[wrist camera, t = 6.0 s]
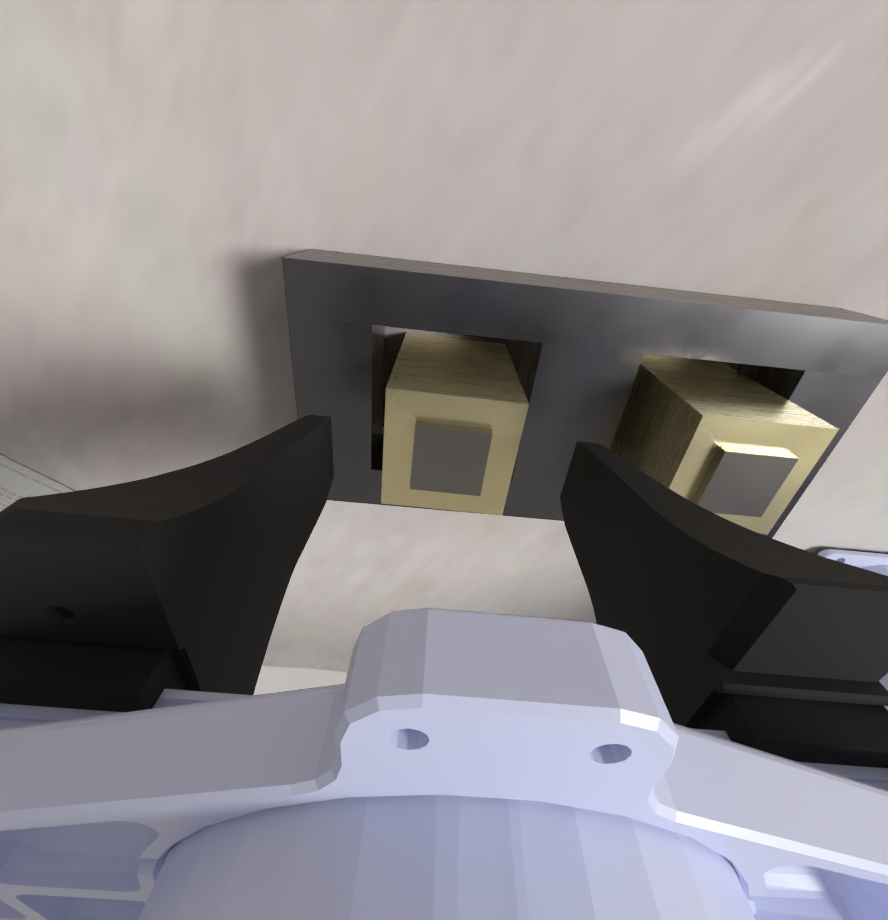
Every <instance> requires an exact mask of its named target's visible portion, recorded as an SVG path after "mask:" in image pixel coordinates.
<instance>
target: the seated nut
mask: <svg viewBox="0 0 888 920" xmlns="http://www.w3.org/2000/svg"><path fill="white" fill-rule="evenodd" d="M838 430H839V429H838V428H836V427H834V426H833V425H831V424H829V423H827V422H826V421H824V420H822V419H820V418H819V417H817V416H815V415H813V414H812V413H810V412H808V411H806V410H804V409H803V408H801V407H799V406H797V405H796V404H794V403H792V402H790V401H789V400H787V399H785V398H783V397H782V396H780V395H778V394H776V393H775V392H773V391H771V390H769V389H768V388H766V387H764V386H762V385H760V384H759V383H757V382H755V381H753V380H752V379H750V378H748V377H746V376H745V375H743V374H741V373H739V372H738V371H736V370H734V369H732V368H731V367H729V366H727V365H725V364H724V363H722V362H714V361H704V360H695V359H685V358H676V357H666V356H657V355H647V354H644V355H643V357H642V360H641V363H640V366H639V369H638V371H637V374H636V377H635V380H634V382H633V385H632V388H631V391H630V394H629V396H628V399H627V402H626V405H625V407H624V410H623V413H622V416H621V419H620V421H619V424H618V427H617V430H616V432H615V435H614V438H613V441H612V444H611V446H610V449H609V450H611V451H612V452H614V453H616V454H617V455H619V456H620V457H622V458H623V459H625V460H626V461H628V462H629V463H631V464H632V465H633V466H635V467H636V468H638V469H639V470H641V471H642V472H644V473H645V474H647V475H648V476H650V477H651V478H653V479H655V480H656V481H658V482H659V483H661V484H662V485H664V486H666V487H667V488H669V489H671V490H672V491H674V492H676V493H677V494H679V495H681V496H682V497H684V498H686V499H688V500H689V501H691V502H693V503H695V504H697V505H699V506H701V507H703V508H705V509H706V510H708V511H710V512H712V513H714V514H716V515H718V516H720V517H722V518H725V519H727V520H729V521H731V522H733V523H735V524H738V525H740V526H743V527H745V528H747V529H750V530H752V531H754V532H757V533H759V534H766V535H768V533H769V532H770V530H771V529H772V528H773V526H774V525H775V523H776V522H777V520H778V519H779V517H780V516H781V514H782V513H783V511H784V510H785V508H786V507H787V505H788V504H789V502H790V501H791V500H792V498H793V497H794V495H795V494H796V492H797V491H798V489H799V488H800V486H801V485H802V483H803V482H804V480H805V479H806V477H807V476H808V474H809V473H810V472H811V470H812V469H813V467H814V466H815V464H816V463H817V461H818V460H819V458H820V457H821V455H822V454H823V452H824V451H825V449H826V448H827V446H828V445H829V444H830V442H831V441H832V439H833V438H834V436H835V435H836V433H837V432H838Z"/></svg>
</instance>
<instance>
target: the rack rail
mask: <svg viewBox="0 0 888 920" xmlns="http://www.w3.org/2000/svg"><path fill="white" fill-rule="evenodd" d="M282 260H283V271H284V281H285V292H286V302H287V312H288V323H289V333H290V344H291V354H292V365H293V375H294V385H295V396H296V406H297V417H298V419H300V418H303V417H305V416H308V415H318V416H328V417H331V425H332V446H333V467H334V477H333V481H332V484H331V488H330V491H329V494H328V497H327V500H334V501H345V502H357V503H368V504H379V505H391V506H402V507H413V506H403V505H393V504H383V503H381V491H382V467H383V444H384V434H382V411H383V369H384V327H385V326H388V327H398V328H407V329H417V330H426V331H436V332H445V333H455V334H464V335H474V336H483V337H493V338H502V339H512V340H521V341H524V345H523V350H522V355H521V360H520V365H519V370H518V378H519V380H520V383H521V385H522V388H523V390H524V393H525V395H526V398H527V400H528V403H529V407H528V411H527V415H526V419H525V423H524V427H523V431H522V436H521V440H520V444H519V448H518V452H517V456H516V460H515V465H514V469H513V473H512V477H511V481H510V485H509V490H508V494H507V498H506V502H505V506H504V510H503V514H502V515H504V516H515V517H527V518H538V519H549V520H561V521H564V518H563V513H562V507H561V501H560V495H561V492H562V489H563V485H564V482H565V479H566V475H567V472H568V469H569V466H570V462H571V459H572V456H573V453H574V449H575V446H576V443H577V441H581V442H591V443H598V444H600V445H602V446H604V447H606V448H608V449H610V446H611V444H612V441H613V438H614V435H615V432H616V430H617V427H618V424H619V421H620V419H621V416H622V413H623V410H624V407H625V405H626V402H627V399H628V396H629V394H630V391H631V388H632V385H633V382H634V380H635V377H636V374H637V371H638V369H639V366H640V363H641V360H642V357H643V355H644V354H654V355H663V356H673V357H682V358H692V359H701V360H711V361H720V362H730V363H739V364H741V366H740V368H739V370H738V372H739V373H741V374H743V375H745V376H746V377H748V378H750V379H752V380H753V381H755V382H757V383H759V384H760V385H762V386H764V387H766V388H768V389H769V390H771V391H773V392H775V393H776V394H778V395H780V396H782V397H783V398H785V399H787V400H789V401H790V402H792V403H794V404H796V405H797V406H799V407H801V408H803V409H804V410H806V411H808V412H810V413H812V414H813V415H815V416H817V417H819V418H820V419H822V420H824V421H826V422H827V423H829V424H831V425H833V426H834V427H836V428H838V429H839V430H838V432H837V433H836V435H835V436H834V438H833V439H832V441H831V442H830V444H829V445H828V446H827V448H826V449H825V451H824V452H823V454H822V455H821V457H820V458H819V460H818V461H817V463H816V464H815V466H814V467H813V469H812V470H811V472H810V473H809V474H808V476H807V477H806V479H805V480H804V482H803V483H802V485H801V486H800V488H799V489H798V491H797V492H796V494H795V495H794V497H793V498H792V500H791V501H790V502H789V504H788V505H787V507H786V508H785V510H784V511H783V513H782V514H781V516H780V517H779V519H778V520H777V522H776V523H775V525H774V526H773V528H772V529H771V530H770V532H769V533H768V535H766V534H761V535H764V536H766V537H769V538H773V536H774V535H775V533H776V532H777V530H778V529H779V527H780V526H781V525H782V523H783V522H784V520H785V519H786V517H787V516H788V514H789V513H790V512H791V510H792V509H793V507H794V506H795V504H796V503H797V501H798V500H799V498H800V497H801V496H802V494H803V493H804V491H805V490H806V488H807V487H808V485H809V484H810V483H811V481H812V480H813V478H814V477H815V475H816V474H817V472H818V471H819V470H820V468H821V467H822V465H823V464H824V462H825V461H826V459H827V458H828V456H829V455H830V454H831V452H832V451H833V449H834V448H835V446H836V445H837V443H838V442H839V441H840V439H841V438H842V436H843V435H844V433H845V432H846V430H847V429H848V427H849V426H850V425H851V423H852V422H853V420H854V419H855V417H856V416H857V414H858V413H859V412H860V410H861V409H862V407H863V406H864V404H865V403H866V401H867V400H868V398H869V397H870V396H871V394H872V393H873V391H874V390H875V388H876V387H877V385H878V384H879V383H880V381H881V380H882V378H883V377H884V375H885V374H886V372H887V371H888V320H885V319H881V318H877V317H873V316H869V315H865V314H861V313H857V312H854V311H850V310H846V309H842V308H834V307H825V306H816V305H807V304H798V303H789V302H780V301H771V300H763V299H754V298H745V297H736V296H727V295H718V294H709V293H700V292H691V291H682V290H673V289H664V288H655V287H647V286H638V285H629V284H620V283H611V282H602V281H593V280H584V279H575V278H566V277H557V276H548V275H539V274H530V273H522V272H513V271H504V270H495V269H486V268H477V267H468V266H459V265H450V264H441V263H432V262H423V261H414V260H406V259H397V258H388V257H379V256H370V255H361V254H352V253H343V252H334V251H325V250H316V249H309V250H306V251H302V252H299V253H295V254H292V255H289V256H285V257H282ZM413 508H423V507H413ZM425 509H433V508H425ZM436 510H443V509H436ZM447 511H453V510H447ZM459 512H463V511H459ZM470 513H473V512H470ZM481 514H483V513H481Z"/></svg>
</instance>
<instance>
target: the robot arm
mask: <svg viewBox="0 0 888 920" xmlns="http://www.w3.org/2000/svg"><path fill="white" fill-rule="evenodd" d="M333 477H334V467H333V446H332V425H331V417H328V416H318V415H308V416H305V417H303V418H300V419H298V420H296V421H294V422H292V423H290V424H288V425H286V426H285V427H283V428H281V429H279V430H277V431H275V432H273V433H271V434H269V435H267V436H265V437H263V438H261V439H259V440H257V441H254V442H252V443H250V444H248V445H246V446H243V447H241V448H239V449H237V450H234V451H232V452H230V453H227V454H225V455H222V456H220V457H217V458H214V459H211V460H209V461H206V462H203V463H200V464H197V465H194V466H191V467H187V468H184V469H180V470H176V471H172V472H169V473H165V474H161V475H158V476H154V477H150V478H146V479H141V480H137V481H132V482H127V483H122V484H117V485H111V486H106V487H100V488H94V489H88V490H81V491H73V492H65V493H58V494H50V495H42V496H34V497H24V498H20V499H18V500H17V501H15V502H14V503H12V504H11V505H9V506H8V507H7V508H5V509H4V510H2V511H1V512H0V920H888V554H880V553H869V552H857V551H846V550H834V549H826V550H823V551H821V552H819V553H818V554H817V555H816V554H813V553H810V552H807V551H805V550H802V549H799V548H796V547H793V546H790V545H787V544H785V543H782V542H779V541H777V540H774V539H772V538H769V537H766V536H764V535H761V534H759V533H757V532H754V531H752V530H750V529H747V528H745V527H743V526H740V525H738V524H735V523H733V522H731V521H729V520H727V519H725V518H722V517H720V516H718V515H716V514H714V513H712V512H710V511H708V510H706V509H705V508H703V507H701V506H699V505H697V504H695V503H693V502H691V501H689V500H688V499H686V498H684V497H682V496H681V495H679V494H677V493H676V492H674V491H672V490H671V489H669V488H667V487H666V486H664V485H662V484H661V483H659V482H658V481H656V480H655V479H653V478H651V477H650V476H648V475H647V474H645V473H644V472H642V471H641V470H639V469H638V468H636V467H635V466H633V465H632V464H631V463H629V462H628V461H626V460H625V459H623V458H622V457H620V456H619V455H617V454H616V453H614V452H612V451H611V450H609V449H608V448H606V447H604V446H602V445H600V444H598V443H591V442H581V441H577V443H576V446H575V449H574V453H573V456H572V459H571V462H570V466H569V469H568V472H567V475H566V479H565V482H564V485H563V489H562V492H561V495H560V501H561V507H562V513H563V518H564V522H565V526H566V529H567V532H568V535H569V538H570V541H571V544H572V546H573V549H574V552H575V555H576V557H577V560H578V563H579V566H580V568H581V571H582V574H583V577H584V579H585V582H586V585H587V588H588V591H589V594H590V597H591V600H592V604H593V608H594V613H595V617H596V621H597V624H595V623H592V622H588V621H577V620H565V619H553V618H541V617H529V616H518V615H506V614H494V613H482V612H470V611H458V610H446V609H434V608H423V609H412V610H401V611H393V612H391V613H389V614H387V615H385V616H383V617H381V618H380V619H378V620H376V621H374V622H372V623H371V624H369V625H367V626H365V627H363V628H362V630H361V633H360V635H359V637H358V640H357V642H356V644H355V646H354V649H353V653H352V657H351V661H350V666H349V670H348V674H347V679H346V683H345V684H340V685H331V686H324V687H316V688H308V689H300V690H293V691H285V692H277V693H270V694H262V695H253V694H254V690H255V686H256V683H257V679H258V676H259V673H260V670H261V666H262V663H263V660H264V656H265V653H266V650H267V646H268V643H269V640H270V637H271V634H272V631H273V628H274V625H275V621H276V618H277V615H278V612H279V609H280V606H281V603H282V601H283V598H284V595H285V592H286V589H287V586H288V583H289V581H290V578H291V575H292V573H293V570H294V568H295V566H296V563H297V561H298V559H299V557H300V555H301V553H302V551H303V549H304V547H305V545H306V543H307V541H308V539H309V537H310V535H311V533H312V530H313V528H314V526H315V524H316V522H317V520H318V518H319V516H320V514H321V512H322V510H323V508H324V505H325V503H326V500H327V497H328V494H329V491H330V488H331V484H332V481H333Z"/></svg>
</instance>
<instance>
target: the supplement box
mask: <svg viewBox="0 0 888 920" xmlns="http://www.w3.org/2000/svg"><path fill="white" fill-rule="evenodd" d="M65 492H73V490H71V489H69V488H67V487H66V486H64V485H62V484H60V483H58V482H56V481H53V480H51V479H49V478H47V477H45V476H43V475H41V474H39V473H37V472H35V471H33V470H31V469H29V468H27V467H24V466H22V465H20V464H18V463H16V462H14V461H12V460H10V459H8V458H6V457H4V456H2V455H0V512H1V511H2V510H4V509H5V508H7V507H8V506H9V505H11V504H12V503H14V502H15V501H17V500H18V499H20V498H24V497H34V496H42V495H50V494H58V493H65Z"/></svg>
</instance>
